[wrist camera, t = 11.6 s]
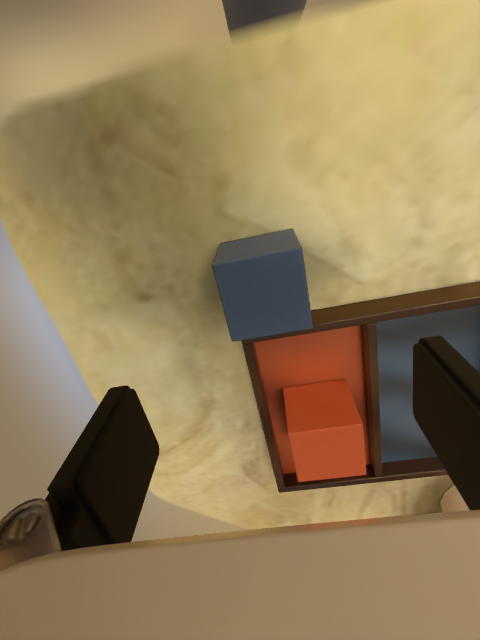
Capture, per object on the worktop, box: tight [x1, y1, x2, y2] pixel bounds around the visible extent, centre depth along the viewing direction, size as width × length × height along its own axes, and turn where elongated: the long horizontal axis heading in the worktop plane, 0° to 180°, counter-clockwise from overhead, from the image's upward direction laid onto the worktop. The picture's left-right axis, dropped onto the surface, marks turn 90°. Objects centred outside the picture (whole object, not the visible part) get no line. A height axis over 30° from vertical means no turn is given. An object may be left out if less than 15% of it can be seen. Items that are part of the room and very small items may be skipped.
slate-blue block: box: [212, 229, 313, 341], centre depth 19 cm, size 4×4×4 cm
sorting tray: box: [242, 282, 480, 492], centre depth 25 cm, size 15×16×2 cm
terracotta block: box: [283, 379, 366, 482], centre depth 23 cm, size 4×4×4 cm
